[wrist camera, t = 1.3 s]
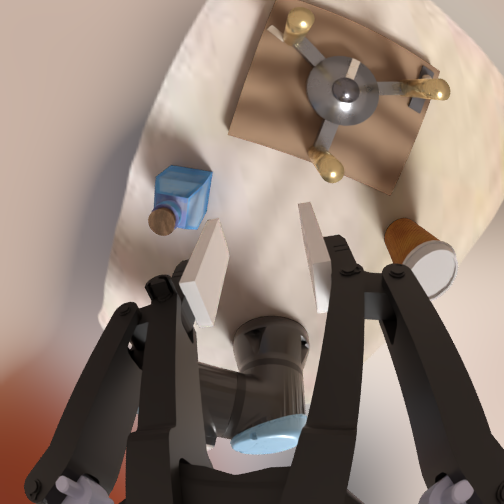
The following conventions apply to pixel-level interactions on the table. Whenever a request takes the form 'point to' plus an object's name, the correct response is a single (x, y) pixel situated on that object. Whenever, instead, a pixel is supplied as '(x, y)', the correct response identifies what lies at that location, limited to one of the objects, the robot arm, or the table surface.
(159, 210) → the perfume bottle
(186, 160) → the table surface
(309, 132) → the stand
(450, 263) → the disposable coffee cup
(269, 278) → the table surface
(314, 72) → the capstan
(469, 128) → the table surface
